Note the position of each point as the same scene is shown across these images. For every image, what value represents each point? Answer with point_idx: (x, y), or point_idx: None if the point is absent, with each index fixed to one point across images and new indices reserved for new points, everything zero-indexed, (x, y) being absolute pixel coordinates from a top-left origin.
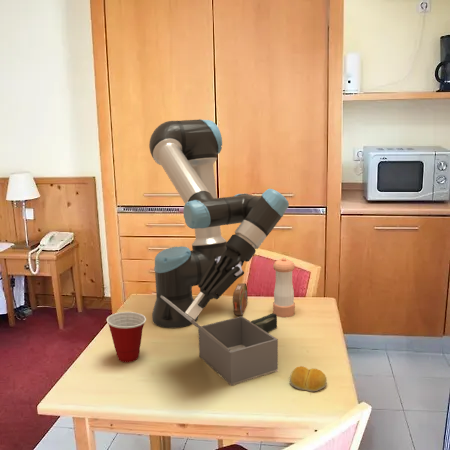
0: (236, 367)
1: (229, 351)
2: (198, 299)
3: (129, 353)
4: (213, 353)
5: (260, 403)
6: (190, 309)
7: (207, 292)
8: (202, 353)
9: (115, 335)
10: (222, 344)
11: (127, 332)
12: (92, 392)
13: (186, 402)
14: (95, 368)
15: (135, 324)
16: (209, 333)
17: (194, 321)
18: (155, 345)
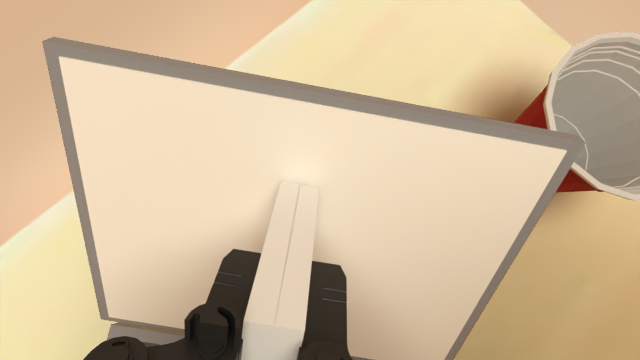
0: None
1: (124, 328)
2: (262, 265)
3: None
4: None
5: (17, 315)
6: (283, 202)
7: (185, 345)
8: None
9: (567, 74)
10: (104, 287)
11: (543, 93)
12: (401, 6)
13: None
14: (515, 64)
15: (627, 182)
16: (88, 207)
17: (48, 68)
18: (556, 273)
